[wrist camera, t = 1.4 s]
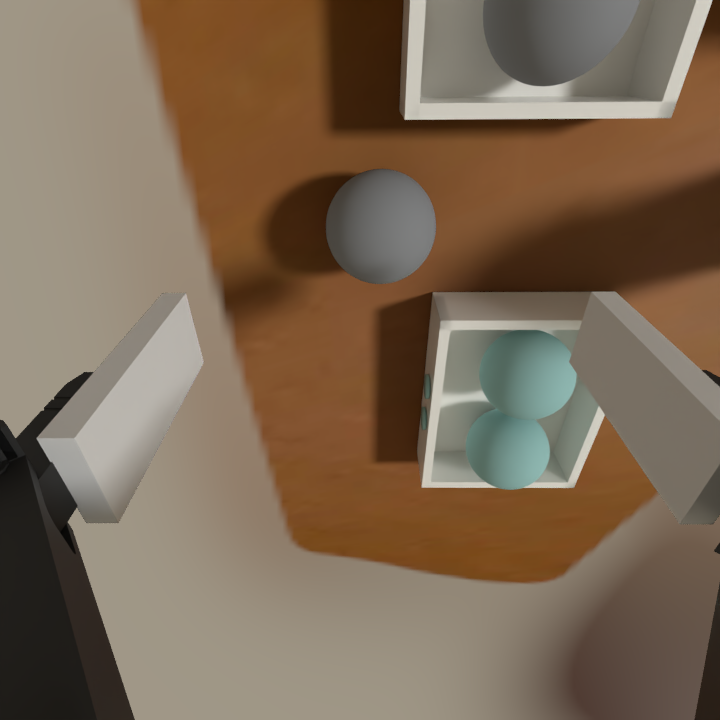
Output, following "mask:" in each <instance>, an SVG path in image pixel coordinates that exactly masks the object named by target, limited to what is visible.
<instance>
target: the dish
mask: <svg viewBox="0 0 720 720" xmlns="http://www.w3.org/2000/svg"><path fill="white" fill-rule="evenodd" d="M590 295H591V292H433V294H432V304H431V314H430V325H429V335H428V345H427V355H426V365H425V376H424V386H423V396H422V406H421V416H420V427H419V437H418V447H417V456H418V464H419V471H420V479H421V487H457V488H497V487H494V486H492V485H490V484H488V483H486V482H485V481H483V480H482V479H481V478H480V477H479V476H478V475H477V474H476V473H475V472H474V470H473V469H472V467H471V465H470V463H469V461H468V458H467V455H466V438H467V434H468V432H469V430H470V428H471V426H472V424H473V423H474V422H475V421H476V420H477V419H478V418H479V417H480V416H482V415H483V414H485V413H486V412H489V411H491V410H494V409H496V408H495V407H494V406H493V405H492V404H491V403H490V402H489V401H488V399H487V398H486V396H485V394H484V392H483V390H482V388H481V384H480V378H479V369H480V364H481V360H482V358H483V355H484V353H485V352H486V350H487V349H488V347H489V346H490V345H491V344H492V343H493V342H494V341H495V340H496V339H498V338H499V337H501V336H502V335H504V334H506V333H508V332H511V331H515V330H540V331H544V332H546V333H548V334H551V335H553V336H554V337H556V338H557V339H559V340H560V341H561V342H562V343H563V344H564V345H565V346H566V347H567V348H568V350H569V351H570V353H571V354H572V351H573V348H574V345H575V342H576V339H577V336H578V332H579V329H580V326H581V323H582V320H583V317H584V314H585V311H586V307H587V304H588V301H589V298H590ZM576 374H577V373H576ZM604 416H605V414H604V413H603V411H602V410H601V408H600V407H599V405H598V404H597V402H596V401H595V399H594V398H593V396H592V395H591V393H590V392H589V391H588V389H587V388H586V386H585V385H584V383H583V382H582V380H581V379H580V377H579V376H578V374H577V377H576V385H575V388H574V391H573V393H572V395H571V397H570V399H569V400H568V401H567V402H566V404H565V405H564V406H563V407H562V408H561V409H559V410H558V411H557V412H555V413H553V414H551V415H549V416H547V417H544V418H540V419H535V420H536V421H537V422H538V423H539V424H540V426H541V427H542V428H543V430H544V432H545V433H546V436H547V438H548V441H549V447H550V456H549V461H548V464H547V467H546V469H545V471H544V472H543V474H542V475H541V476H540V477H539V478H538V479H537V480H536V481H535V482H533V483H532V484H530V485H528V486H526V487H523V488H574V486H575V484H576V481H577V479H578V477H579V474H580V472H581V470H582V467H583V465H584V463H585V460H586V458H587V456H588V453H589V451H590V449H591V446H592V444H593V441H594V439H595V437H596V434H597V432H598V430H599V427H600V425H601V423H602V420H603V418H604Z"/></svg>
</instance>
